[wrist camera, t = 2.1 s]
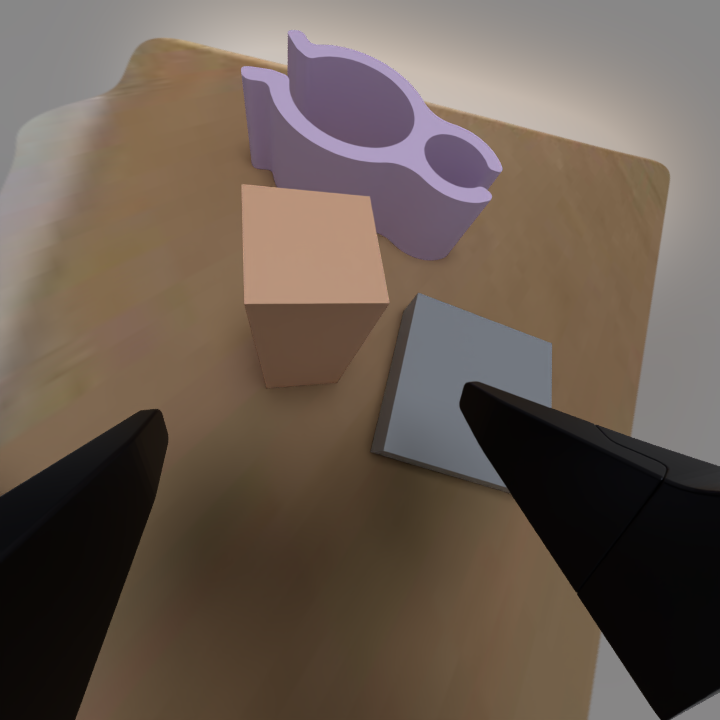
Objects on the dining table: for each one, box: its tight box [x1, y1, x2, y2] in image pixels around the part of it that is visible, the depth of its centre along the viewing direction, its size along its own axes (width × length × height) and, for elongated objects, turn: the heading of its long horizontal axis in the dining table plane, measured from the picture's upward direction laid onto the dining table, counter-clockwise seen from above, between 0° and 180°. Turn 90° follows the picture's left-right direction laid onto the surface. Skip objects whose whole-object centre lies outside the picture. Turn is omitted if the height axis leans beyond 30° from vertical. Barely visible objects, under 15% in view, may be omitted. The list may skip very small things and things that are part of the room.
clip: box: [241, 30, 502, 260], centre depth 26 cm, size 20×12×7 cm, turn 65°
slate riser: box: [371, 293, 552, 493], centre depth 22 cm, size 12×12×3 cm
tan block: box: [242, 184, 389, 388], centre depth 16 cm, size 5×5×12 cm
